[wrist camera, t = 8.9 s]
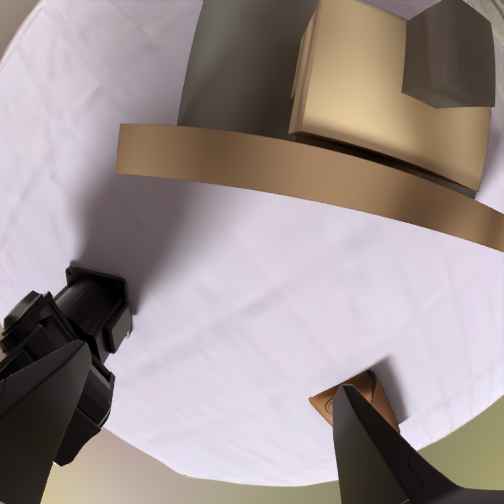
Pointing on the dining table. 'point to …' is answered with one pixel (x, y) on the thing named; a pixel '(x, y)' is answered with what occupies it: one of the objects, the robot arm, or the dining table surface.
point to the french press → (492, 16)
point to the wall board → (282, 131)
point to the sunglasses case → (367, 387)
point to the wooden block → (399, 86)
